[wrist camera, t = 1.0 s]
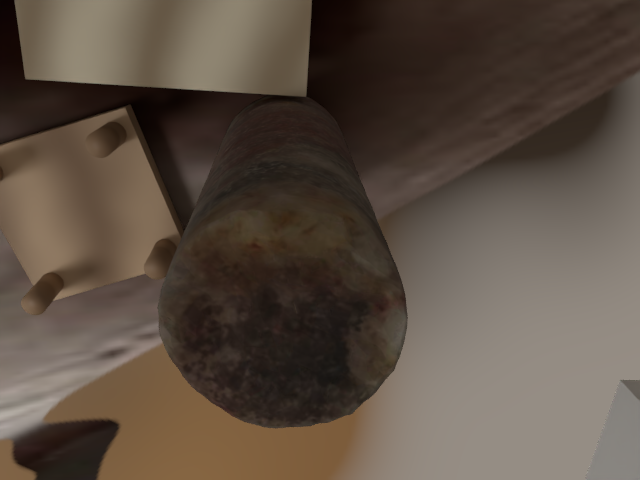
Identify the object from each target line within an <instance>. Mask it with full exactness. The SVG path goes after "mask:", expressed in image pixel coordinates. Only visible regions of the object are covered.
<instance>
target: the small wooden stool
mask: <svg viewBox="0 0 640 480" xmlns="http://www.w3.org/2000/svg"><path fill="white" fill-rule="evenodd" d="M15 7H16V14H17V22H18V29H19V36H20V43H21V51H22V58H23V65H24V73H25V79H32V80H48V81H64V82H79V83H95V84H111V85H127V86H143V87H159V88H174V89H190V90H206V91H222V92H238V93H253V94H269V95H285V96H301V97H306V92H307V75H308V58H309V42H310V25H311V9H312V0H15Z"/></svg>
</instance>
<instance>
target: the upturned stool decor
mask: <svg viewBox="0 0 640 480" xmlns="http://www.w3.org/2000/svg"><path fill="white" fill-rule="evenodd" d="M0 229H1V230H2V232H3V234H4V236H5V237H6V239H7V241H8V243H9V244H10V246H11V248H12V249H13V251H14V253H15V255H16V256H17V258H18V260H19V262H20V263H21V265H22V267H23V269H24V270H25V272H26V274H27V275H28V277H29V279H30V281H31V282H32V284H33V287H32V288H31V289H30V291H29V292H28V293H27V294H26V295H25V296H24V297H23V299H22V301H21V305H22V308H23V309H24V310H25V311H26V312H27V313H29V314H32V315H39V314H42V313H43V312H44V311H45V310H46V309H47V307H48V306H49V305H50V304H51V302H52V301H54V300H57V299H61V298H64V297H67V296H71V295H74V294H78V293H81V292H84V291H88V290H91V289H95V288H98V287H101V286H105V285H108V284H112V283H115V282H118V281H122V280H125V279H129V278H132V277H136V276H139V275H142V274H146V275H147V276H148V277H150V278H152V279H162V278H164V277H165V276H166V275H167V272H168V270H169V267H170V264H171V261H172V259H173V256H174V254H175V252H176V250H177V248H178V245H179V243H180V241H181V238H182V236H183V234H184V230H183V227H182V225H181V223H180V220H179V218H178V216H177V213H176V211H175V208H174V206H173V204H172V201H171V199H170V197H169V194H168V192H167V190H166V187H165V185H164V182H163V180H162V178H161V175H160V173H159V171H158V168H157V166H156V164H155V161H154V159H153V156H152V154H151V152H150V149H149V147H148V145H147V142H146V140H145V138H144V135H143V133H142V130H141V128H140V126H139V123H138V121H137V119H136V116H135V114H134V112H133V109H132V107H131V104H130V105H127V106H123V107H120V108H117V109H114V110H110V111H107V112H104V113H101V114H97V115H94V116H91V117H88V118H84V119H81V120H78V121H75V122H71V123H68V124H65V125H62V126H58V127H55V128H52V129H49V130H45V131H42V132H39V133H36V134H32V135H29V136H26V137H23V138H19V139H16V140H13V141H10V142H6V143H3V144H0Z"/></svg>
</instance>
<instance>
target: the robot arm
mask: <svg viewBox="0 0 640 480" xmlns="http://www.w3.org/2000/svg"><path fill="white" fill-rule="evenodd" d="M586 479H587V480H640V380H620V382H619V385H618V388H617V391H616V393H615V396H614V399H613V402H612V404H611V408H610V410H609V413H608V416H607V419H606V421H605V424H604V427H603V430H602V433H601V436H600V439H599V441H598V444H597V447H596V450H595V453H594V455H593V458H592V461H591V464H590V467H589V470H588V473H587V475H586Z"/></svg>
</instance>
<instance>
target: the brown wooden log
mask: <svg viewBox="0 0 640 480" xmlns="http://www.w3.org/2000/svg"><path fill="white" fill-rule="evenodd" d="M158 312H159V332H160V336H161V339H162V341H163V344H164V346H165V349H166V351H167V353H168V355H169V357H170V358H171V360H172V361H173V363H174V364H175V365H176V366H177V367H178V369H179V370H180V372H181V373H182V375H183V377H184V378H185V379H186V380H187V381H188V383H189V384H190V385H191V386H192V387H193V388H194V389H195V390H196V391H197V392H199V393H201V394H202V395H203V396H205V397H206V398H207V399H208V400H209V401H210V402H212V403H213V404H215V405H217V406H219V407H220V408H222V409H223V410H225V411H226V412H227V413H229V414H230V415H232V416H233V417H236V418H238V419H240V420H242V421H244V422H247V423H251V424H255V425H259V426H262V427H268V428H284V427H303V426H312V425H315V424H318V423H328V422H330V421H333V420H335V419H338V418H340V417H343V416H345V415H350V414H352V413H353V412H354V411H355V410H356V409H357V408H358V407H359V406H360V405H361V404H362V403H363V402H364V401H366V400H367V399H369V398H370V397H371V396H372V395H373V394H374V393H375V392H376V391H377V390H378V389H379V387H380V386H381V385H382V383H383V382H384V381H385V379H386V378H387V377H388V376H389V375H390V374H391V373H392V372H393V371H394V369H395V366H396V363H397V361H398V359H399V357H400V354H401V350H402V347H403V344H404V340H405V334H406V329H407V318H408V317H407V309H406V298H405V293H404V289H403V284H402V281H401V278H400V275H399V272H398V270H397V267H396V264H395V262H394V260H393V258H392V255H391V253H390V251H389V248H388V245H387V242H386V240H385V238H384V236H383V234H382V231H381V229H380V226H379V224H378V222H377V219H376V216H375V213H374V211H373V209H372V206H371V204H370V202H369V199H368V197H367V195H366V192H365V189H364V187H363V185H362V183H361V180H360V178H359V175H358V173H357V170H356V168H355V166H354V163H353V160H352V158H351V155H350V152H349V150H348V147H347V144H346V142H345V139H344V137H343V134H342V132H341V130H340V128H339V125H338V123H337V122H336V120H335V119H334V118H333V117H332V115H331V114H330V113H329V112H328V111H327V110H326V109H325V108H324V107H322V106H321V105H320V104H318V103H317V102H316V101H314V100H312V99H311V98H309V97H301V96H285V95H268V96H266V97H263V98H261V99H259V100H257V101H255V102H253V103H251V104H250V105H248V106H247V107H246V108H244V109H243V110H242V111H241V112H240V113H239V114H238V115H237V116H236V117H235V118H234V120H233V121H232V123H231V124H230V126H229V128H228V130H227V132H226V134H225V136H224V139H223V141H222V144H221V146H220V148H219V151H218V153H217V156H216V158H215V161H214V163H213V166H212V168H211V171H210V173H209V176H208V178H207V180H206V183H205V185H204V187H203V189H202V192H201V194H200V196H199V199H198V201H197V204H196V206H195V208H194V211H193V213H192V215H191V218H190V220H189V223H188V225H187V227H186V229H185V231H184V234H183V236H182V238H181V241H180V243H179V245H178V248H177V250H176V252H175V254H174V256H173V259H172V261H171V264H170V267H169V270H168V272H167V275H166V278H165V281H164V283H163V286H162V289H161V294H160V299H159V303H158Z"/></svg>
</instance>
